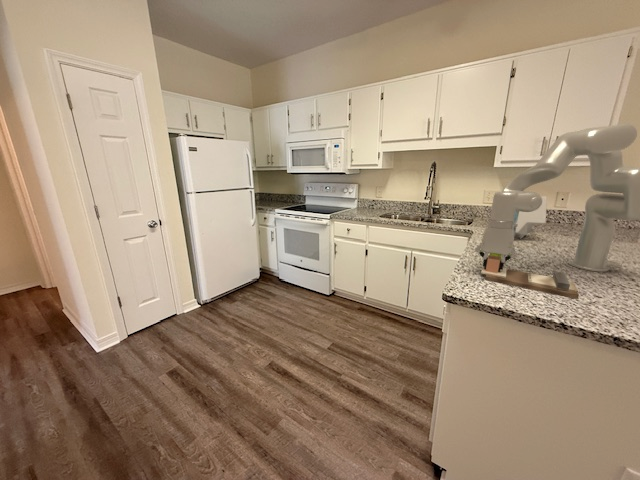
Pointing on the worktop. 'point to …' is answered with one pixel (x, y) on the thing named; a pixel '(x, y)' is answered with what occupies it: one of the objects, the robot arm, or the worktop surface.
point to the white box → (531, 220)
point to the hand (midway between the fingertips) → (492, 269)
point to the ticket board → (539, 282)
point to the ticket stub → (494, 267)
